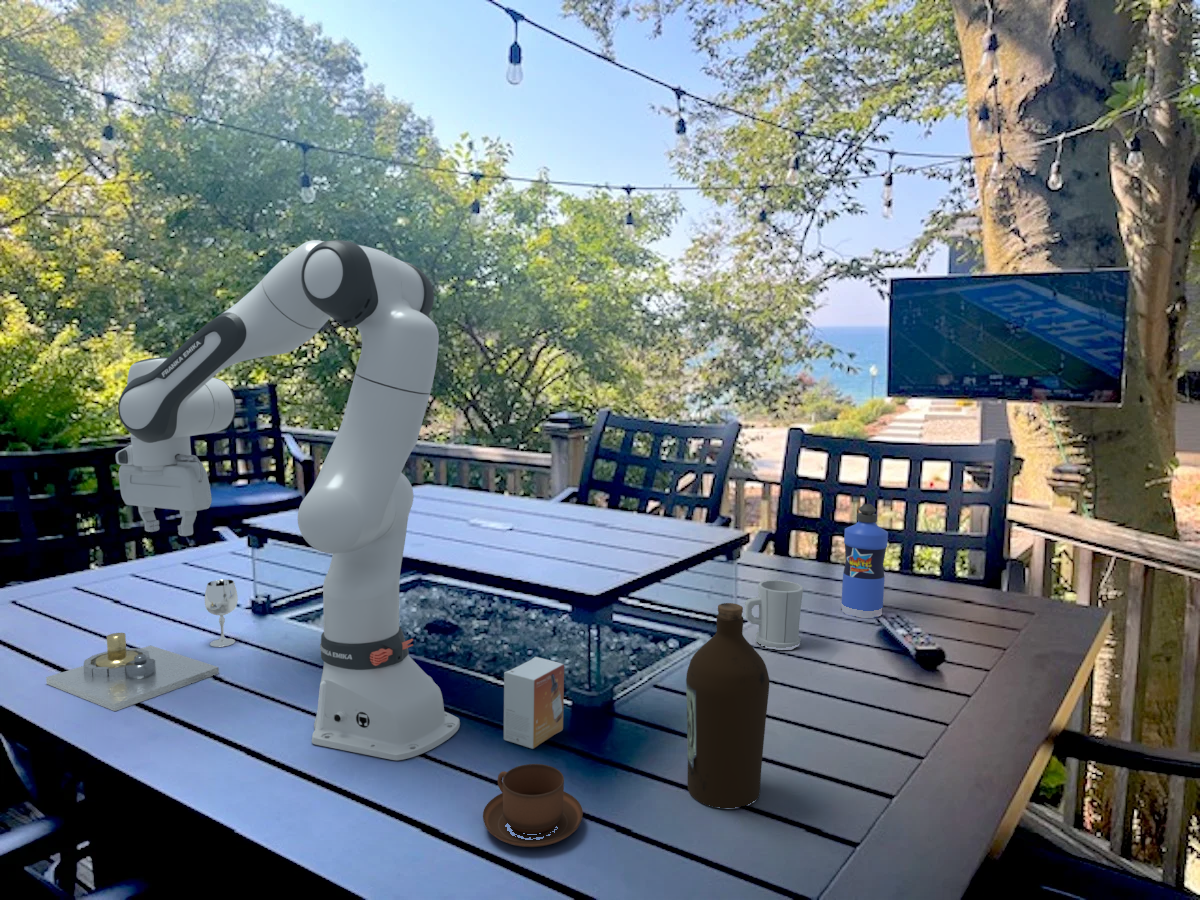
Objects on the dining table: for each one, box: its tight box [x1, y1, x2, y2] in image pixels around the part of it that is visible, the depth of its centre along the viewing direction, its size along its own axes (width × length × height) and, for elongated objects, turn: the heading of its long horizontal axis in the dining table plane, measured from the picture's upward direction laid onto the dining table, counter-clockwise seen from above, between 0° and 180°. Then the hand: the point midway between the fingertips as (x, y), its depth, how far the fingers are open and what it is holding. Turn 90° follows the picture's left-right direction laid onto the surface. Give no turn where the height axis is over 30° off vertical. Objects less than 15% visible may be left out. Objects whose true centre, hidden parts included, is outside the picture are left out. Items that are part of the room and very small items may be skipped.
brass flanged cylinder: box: [96, 632, 138, 667], centre depth 140 cm, size 6×6×6 cm
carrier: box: [45, 645, 220, 712], centre depth 138 cm, size 20×18×4 cm
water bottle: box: [840, 503, 889, 611], centre depth 182 cm, size 9×9×25 cm
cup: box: [744, 579, 804, 648], centre depth 161 cm, size 10×9×12 cm
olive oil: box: [685, 602, 770, 808], centre depth 104 cm, size 11×11×25 cm
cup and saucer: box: [482, 763, 584, 848], centre depth 97 cm, size 12×12×6 cm
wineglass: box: [204, 579, 239, 648], centre depth 155 cm, size 6×6×12 cm
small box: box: [503, 656, 565, 750], centre depth 120 cm, size 8×6×10 cm
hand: (168, 533), depth 138 cm, fingers open, 8 cm apart
